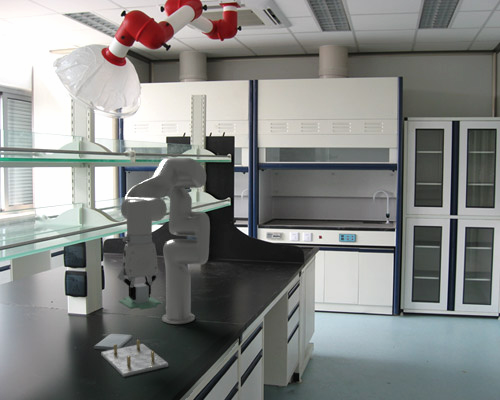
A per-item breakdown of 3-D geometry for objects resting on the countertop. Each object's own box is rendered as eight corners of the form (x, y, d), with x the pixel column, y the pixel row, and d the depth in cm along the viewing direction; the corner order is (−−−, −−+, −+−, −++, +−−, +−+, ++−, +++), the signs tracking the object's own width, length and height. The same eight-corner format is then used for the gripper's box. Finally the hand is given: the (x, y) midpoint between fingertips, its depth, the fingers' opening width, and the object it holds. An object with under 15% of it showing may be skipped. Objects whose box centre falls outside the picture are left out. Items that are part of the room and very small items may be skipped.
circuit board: (116, 300, 165) (116, 283, 165) (145, 296, 171) (145, 279, 170) (133, 310, 154) (133, 292, 153) (164, 305, 159) (164, 287, 159)
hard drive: (117, 347, 171) (131, 334, 183) (93, 345, 172) (109, 333, 184) (117, 352, 171) (131, 339, 183) (93, 350, 172) (109, 337, 185)
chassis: (101, 355, 167) (101, 342, 167) (142, 346, 175) (142, 334, 174) (123, 376, 150) (123, 363, 150) (168, 366, 158) (168, 353, 158)
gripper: (117, 243, 153) (118, 304, 154) (169, 239, 162) (169, 296, 164) (108, 240, 159) (109, 299, 160) (159, 236, 169) (159, 292, 170)
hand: (139, 297), depth 162 cm, fingers closed on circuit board, 4 cm apart
